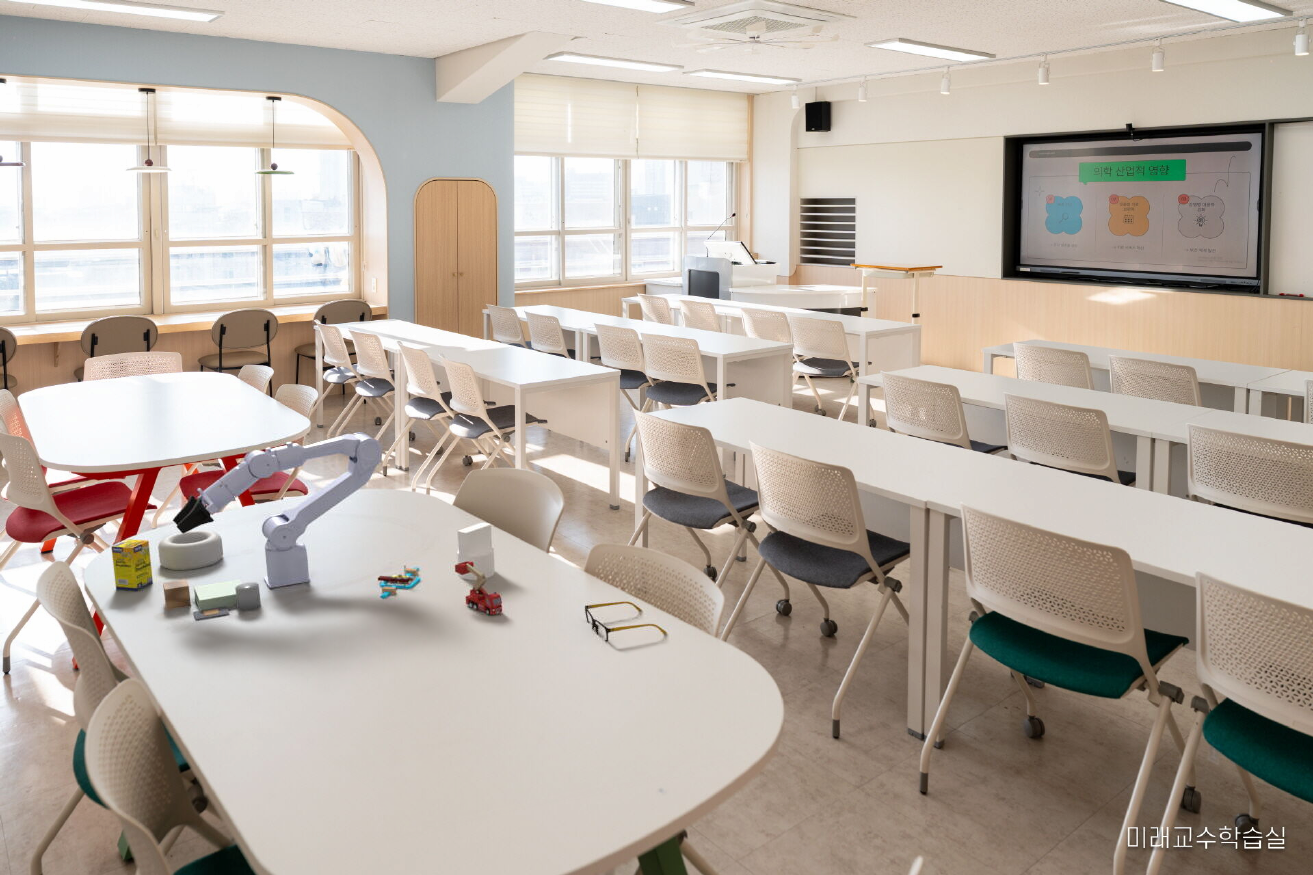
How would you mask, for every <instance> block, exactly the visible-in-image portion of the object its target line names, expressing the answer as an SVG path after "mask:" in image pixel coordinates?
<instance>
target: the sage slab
mask: <svg viewBox="0 0 1313 875" xmlns="http://www.w3.org/2000/svg"><path fill="white" fill-rule="evenodd" d="M240 584H242V582H241V580H240V579H234V580H228V581H221V582H216V583H210V584H204V585H198V586H193V592H194V598H195V601H196V603H197V606H198V608H199V611H201V610H207V609H212V608H218V607H224V606H227V607H231V606H237V599H236V590H235V588H236V586H238V585H240Z"/></svg>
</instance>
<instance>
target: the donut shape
mask: <svg viewBox="0 0 1313 875" xmlns="http://www.w3.org/2000/svg"><path fill="white" fill-rule="evenodd" d="M222 540H223V539H222V536H220V534H218V533H217V532H215V531H211V530H206V529H205V530H203V529H201V530H198V529H197V530H196V529H195V530H190V531H188V532H186V533H182V532H181V531H179V532H177V533H173V534H171V535H168V536H165V537H164V538H163V539H161V540H160V541H159V543H158V547H157V548H158V549H157V550H158V558H159V563H160V566H162V567H163V568H165V569H168V570H172V571H173V570H174V571H191V570H197V569H203V568H207V567H210V566H213V565H214V564H217V563H218V562H219V561H221V559H222V558H223V556H224V550H223V541H222Z"/></svg>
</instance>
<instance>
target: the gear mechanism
mask: <svg viewBox="0 0 1313 875" xmlns="http://www.w3.org/2000/svg"><path fill="white" fill-rule="evenodd" d="M403 569H404V571H403V572H404V575H403V574H398V575H397V574H394V575H388V576H387V575H379V576H378V577H377V581H380V582H381V583H380V587H381V595H379V597H380V599H386V598H387V597H389V596H390V595H395V594H396V593H397V591H396V590H397V589H403V590H404V589H405V590H410V589H412V588H413V587H414V586H416V585H417V584H418V583H419V582H420V581H421V577H419V576H417V575H418V574H419V573H418V572H419V570H420V568H419V567H418V566H417V567H416V566H414V567H413V568H410V567H409V568H407V565H406V564H403Z"/></svg>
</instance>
